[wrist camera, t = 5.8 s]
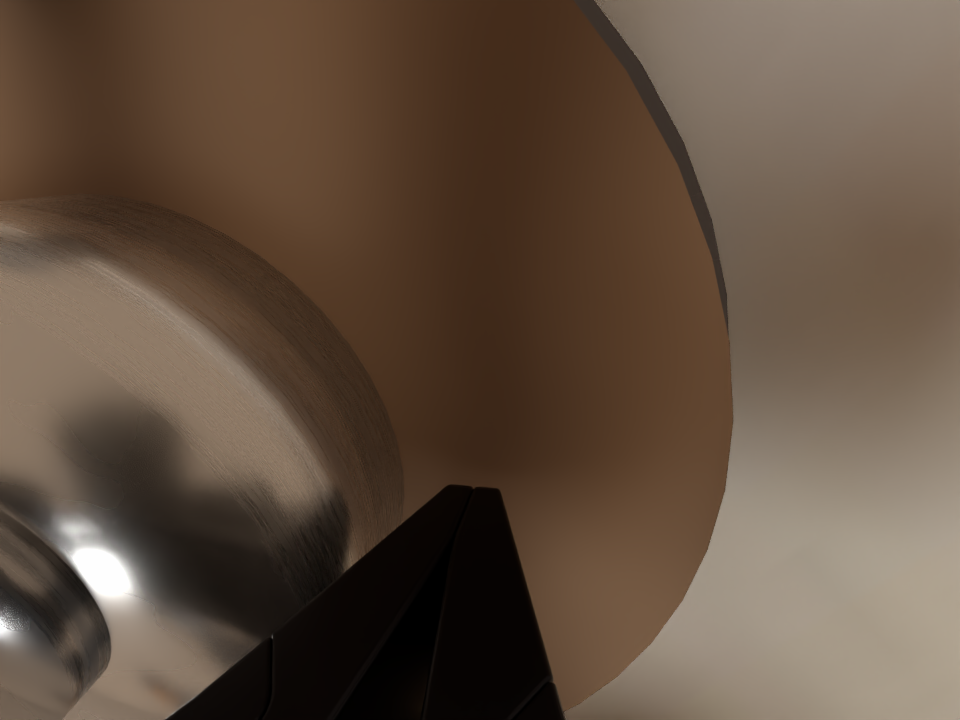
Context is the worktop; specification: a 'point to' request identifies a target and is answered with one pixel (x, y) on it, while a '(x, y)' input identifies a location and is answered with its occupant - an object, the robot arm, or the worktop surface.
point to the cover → (166, 457)
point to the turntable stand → (659, 128)
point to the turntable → (436, 252)
